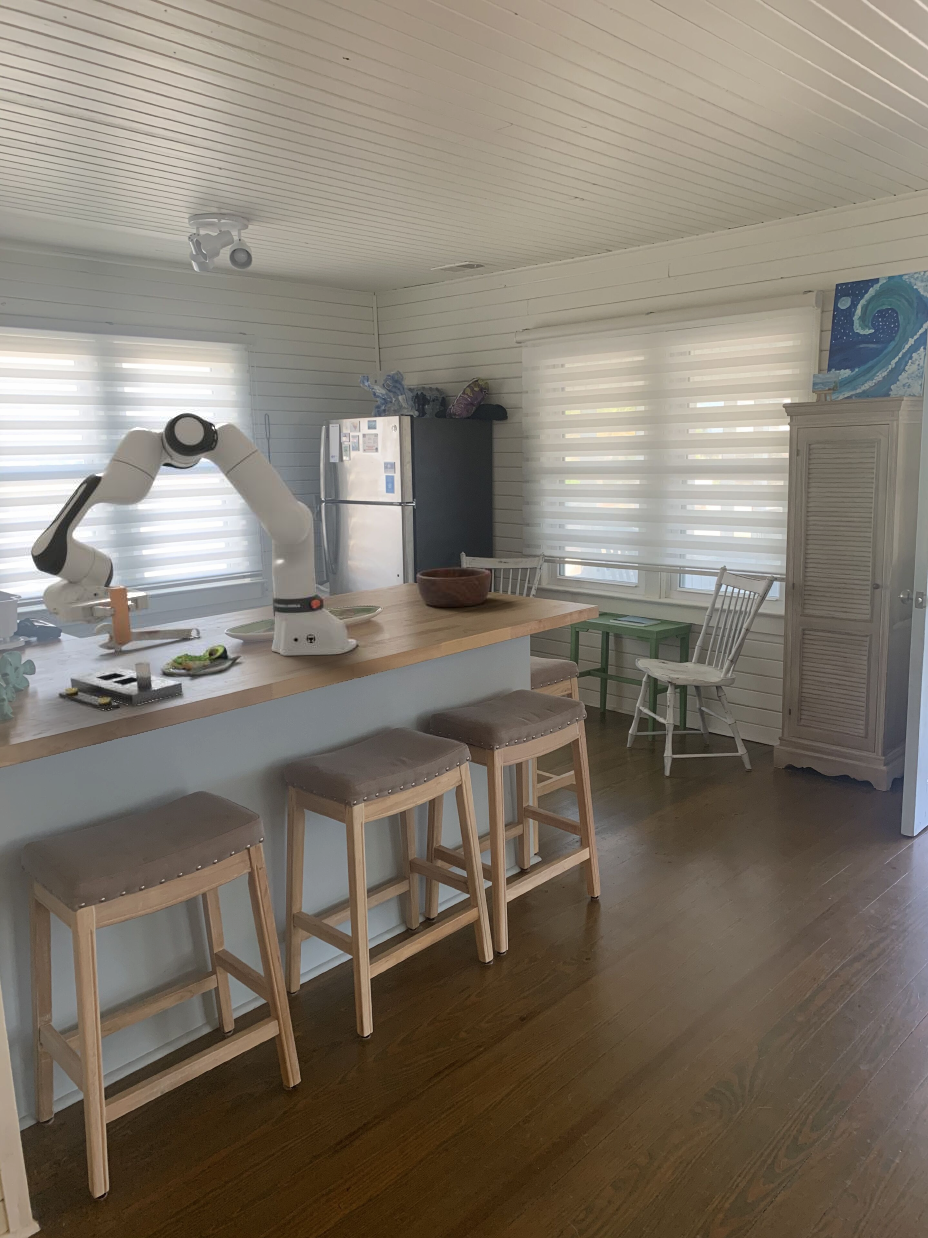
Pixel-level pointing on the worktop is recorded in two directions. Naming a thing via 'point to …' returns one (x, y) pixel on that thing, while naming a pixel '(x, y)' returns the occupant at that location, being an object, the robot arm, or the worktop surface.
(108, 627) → the wrench
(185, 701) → the worktop surface
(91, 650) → the worktop surface
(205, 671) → the salad plate
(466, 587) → the wooden bowl
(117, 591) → the dowel
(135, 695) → the hole plate
